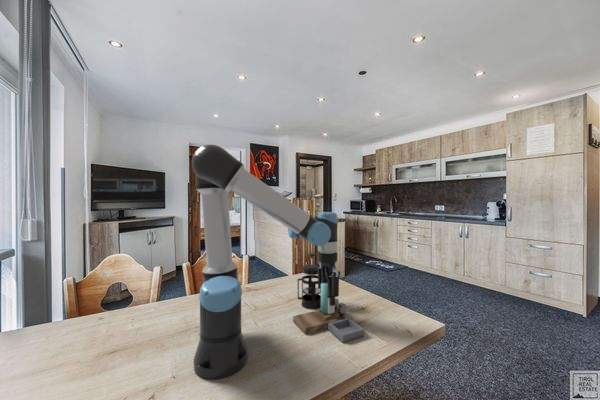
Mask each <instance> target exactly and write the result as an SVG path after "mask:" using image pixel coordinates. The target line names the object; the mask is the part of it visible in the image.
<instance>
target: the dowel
mask: <svg viewBox="0 0 600 400" xmlns="http://www.w3.org/2000/svg"><path fill="white" fill-rule="evenodd" d="M320 296H321V307H320V309H321V313H322V314H324V315H325V316H327V315H331V314H328V297H327V296H329V292H328V283H321V293H320Z"/></svg>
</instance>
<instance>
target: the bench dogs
mask: <svg viewBox="0 0 600 400" xmlns="http://www.w3.org/2000/svg"><path fill="white" fill-rule="evenodd" d="M339 301H340V300H339V299H338V298H337V297H335V311H336V312H338V313H339V316H340V317H341V318H342V319H346V318H347V304H346V303H344V302H339Z"/></svg>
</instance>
